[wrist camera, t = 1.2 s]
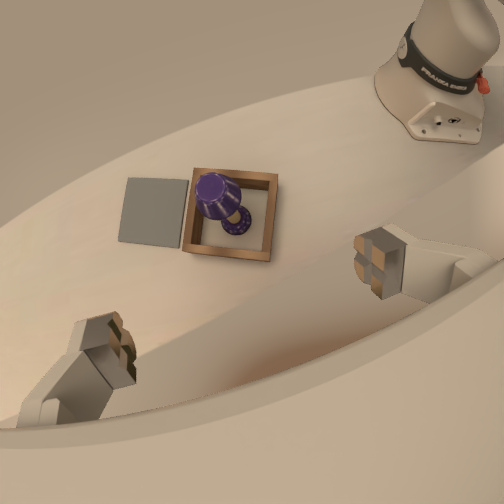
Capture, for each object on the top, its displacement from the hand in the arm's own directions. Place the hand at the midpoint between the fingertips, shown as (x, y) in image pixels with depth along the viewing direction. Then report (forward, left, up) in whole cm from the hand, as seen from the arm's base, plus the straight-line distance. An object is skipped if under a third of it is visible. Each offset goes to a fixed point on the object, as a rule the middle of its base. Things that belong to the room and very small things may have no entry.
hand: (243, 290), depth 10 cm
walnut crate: (+5, -7, -33) cm, 34 cm away
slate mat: (+18, -7, -33) cm, 38 cm away
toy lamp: (+5, -7, -33) cm, 34 cm away
